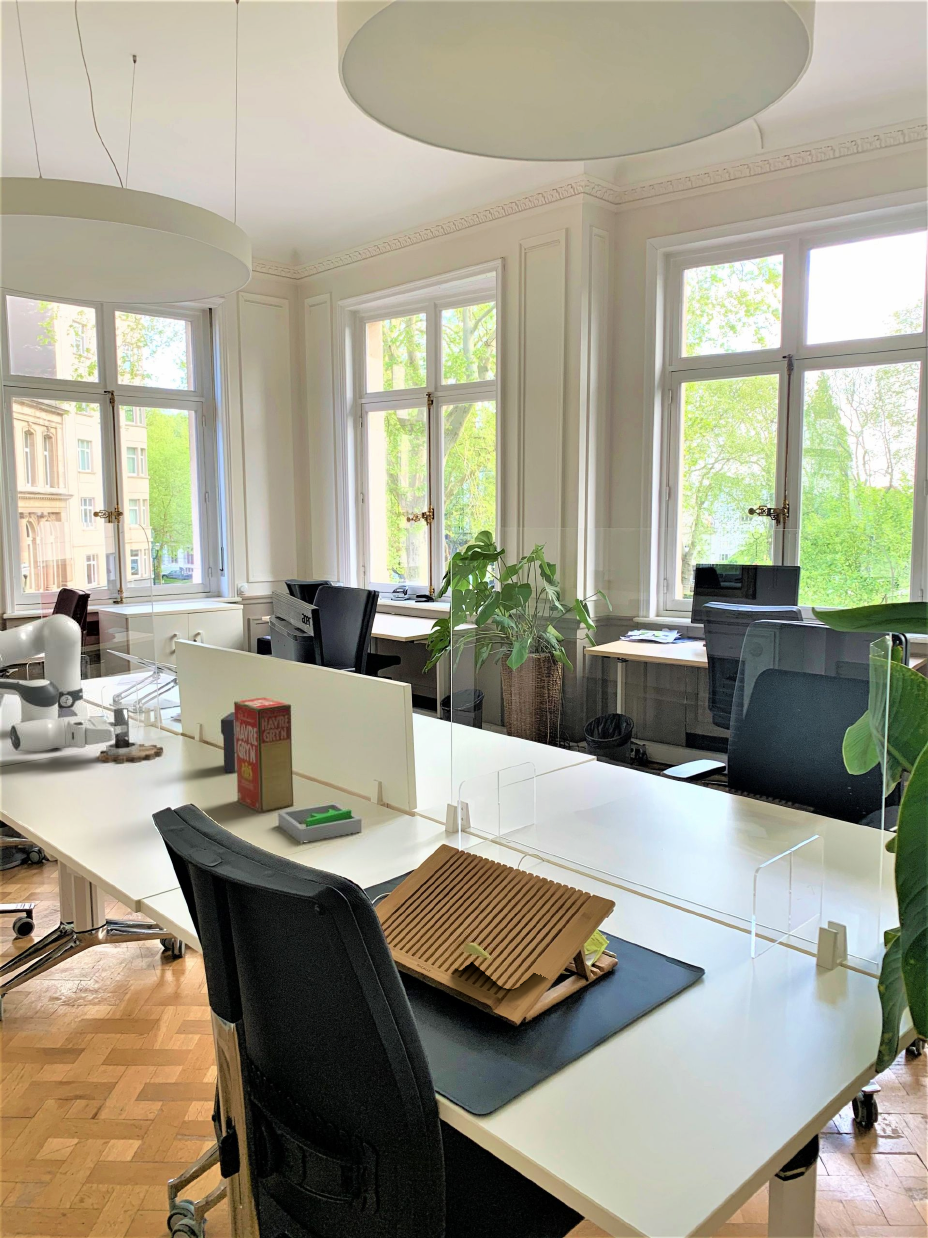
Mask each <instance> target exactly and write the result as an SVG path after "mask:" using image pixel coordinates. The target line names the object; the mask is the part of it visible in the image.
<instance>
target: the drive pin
mask: <svg viewBox="0 0 928 1238" xmlns="http://www.w3.org/2000/svg"><path fill="white" fill-rule="evenodd" d="M129 719H130V717H129V708H128V707H118V708H114V709H113V722H114V727H116V726H120V725H126V726H127V731H126V732H121V733H118V734H114V743H115V748H126V747H129V742H130V720H129Z"/></svg>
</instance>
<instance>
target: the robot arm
mask: <svg viewBox="0 0 928 1238" xmlns="http://www.w3.org/2000/svg"><path fill="white" fill-rule="evenodd" d="M81 631H82V630H81V627H80V625H79V623H77V621H76V620H74V619H73V618H71V617H70V616H68V615H65V614H64V613H63V614H62V613H57V614H52V615H49V616H47V617H46V616H45V617H43V618H40V619H37V620H34V621H31V622H28V623H25V624H21V625H20V626H16V627H13V628H10V629H6V630H3V631H0V668H4V667H7V666H10V665H14V664H17V663H21V662H24V661H27V660H30V659H32V658H34V657H37V656H40V655H41V654H44V660H43V661H44V664H43V666H44V667H43V670H44V679H43V678H42V679H41V678H39V679H23V678H13V677H0V708H1V707H2V704H3V701H4V698H5V695H11V696H17V697H18V698H19V701H20V711H21V715H20V717H21V719H20V722H18V723H15V724H12V725H11V726H10V729H9V735H10V742H11V745H12V747H13V749H14V750H15V751H18V752H40V751H41V752H43V751H44V752H45V751H49V750H52V749H55V748H57V749H69V748H71V749H72V748H78V749H84V748H86V746H94V745H99V744H103V743H105V744H106V743H109V742H112V741H115V734H118V733H121V732H126V731H127V726H126V725H120V726H116V727H114V721H106V720H105V719H104V718H103V717H100V716H97V717H96V716H95V717H90V713H89V712H90V711H89V704H88V703H87V702H85V701H84V700H83V699H84V690H83V688H82V677H81V675H82V674H81V673H82V672H81V659H82V657H81V656H82V655H81V654H82V653H81V652H82V632H81ZM62 708H69V709H72V710H74V711H75V712H76V713H77V715H78V716H73V717H62V718H58V710H59V709H62Z"/></svg>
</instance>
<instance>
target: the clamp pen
mask: <svg viewBox="0 0 928 1238" xmlns="http://www.w3.org/2000/svg"><path fill="white" fill-rule="evenodd" d="M329 809H332V810H334V811H337V812H338V811H343V810H347V808H345V807H343V806H342V805H340V804H339V803H337V802H333V803H327V804H321V805H320V804H319V805H314V806H307V807H303V808H302V807H301V808H296V809H289V810H285V811H284V810H283V811H279V812H278V813H277V817H278V820H277V821H278V826H279V827H280V828H282V830H284V831H285V832H286V833H287V834H289V835H291V836H292V837H293V838H294V839H295V840H296V841H298V842H299V841H300V842H304V841H311V842H315V841H314V840H316V841H320V840H319V839H321V840H325V839H324V838H327V839H330V838H329V837H332V838H335V837H334V836H337V837H341V836H340V835H343V836H347V835H346V834H348V835H352V834H351V833H353V834H358V833H357V832H359V833H362V832H361V831H362V818H361V817H359V816H358V815H356V814H355V813H353V812H352V811H351V819H348V820H343V821H337V822H331V823H326V824H320V825H314V826H309V827H306V826H302V825H301V824H302V822H303V823H306V821H305V820H306V819H310V818H311V814H313V813H314V814H325V813H328V810H329ZM300 842H299V843H300Z"/></svg>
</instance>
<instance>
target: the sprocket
mask: <svg viewBox="0 0 928 1238" xmlns="http://www.w3.org/2000/svg"><path fill="white" fill-rule="evenodd" d="M163 753H164V748H163V746H158V745H157V744H150V745H145V744H144V743H137V742H136V741H135V742H134V741H129V747H126V748H115V742H114V743H110V744H108V745H105V750H103V749H102V750H101V751H99V753H98V758H99V761H104V763H108V764H110V763H113V762H116V761H117V762H116V763H117V764H125V763H128V762H133V763H135V764H136V763H140V762H142V761H144V760H148V761H151V760H155V759H156V757H162V756H163V755H164V754H163Z"/></svg>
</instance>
